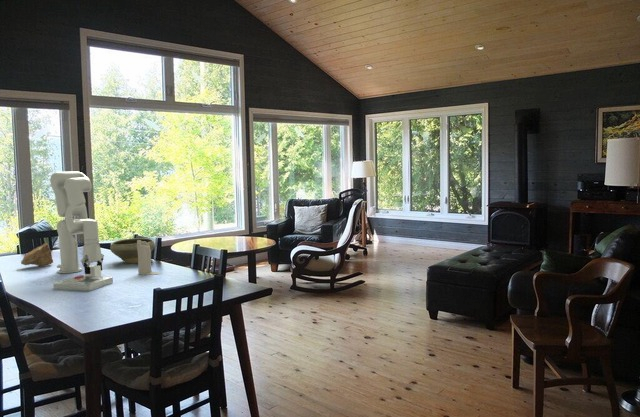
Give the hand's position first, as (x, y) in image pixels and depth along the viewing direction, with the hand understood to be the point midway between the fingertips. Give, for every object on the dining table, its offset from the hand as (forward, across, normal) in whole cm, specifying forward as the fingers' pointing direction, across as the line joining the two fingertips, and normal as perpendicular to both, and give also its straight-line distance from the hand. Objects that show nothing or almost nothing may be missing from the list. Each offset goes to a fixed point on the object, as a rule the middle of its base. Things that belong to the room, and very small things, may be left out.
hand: (93, 272), depth 281 cm
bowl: (+3, -48, -9) cm, 49 cm away
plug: (+4, 0, -1) cm, 4 cm away
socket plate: (+4, +16, +6) cm, 17 cm away
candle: (+4, -17, +24) cm, 30 cm away
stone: (+2, -23, -62) cm, 66 cm away
